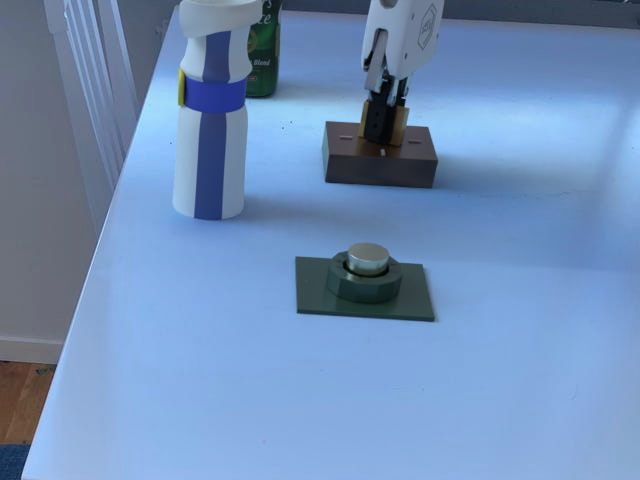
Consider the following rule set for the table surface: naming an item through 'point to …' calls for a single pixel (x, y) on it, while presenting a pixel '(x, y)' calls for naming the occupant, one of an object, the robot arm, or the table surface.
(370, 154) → the lock plate
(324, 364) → the table surface
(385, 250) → the bell button
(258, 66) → the coffee jar
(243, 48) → the water bottle
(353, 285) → the dark green button base
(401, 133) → the lock knob
